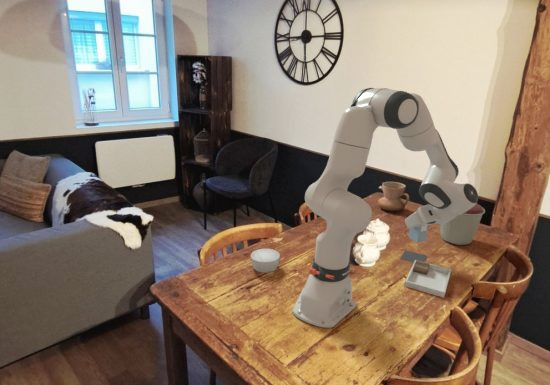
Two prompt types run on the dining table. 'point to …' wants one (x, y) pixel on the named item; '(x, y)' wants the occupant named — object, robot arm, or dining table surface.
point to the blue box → (418, 233)
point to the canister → (462, 226)
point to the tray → (429, 280)
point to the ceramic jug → (392, 196)
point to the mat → (413, 256)
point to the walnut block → (421, 267)
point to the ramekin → (265, 260)
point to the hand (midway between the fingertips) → (417, 225)
